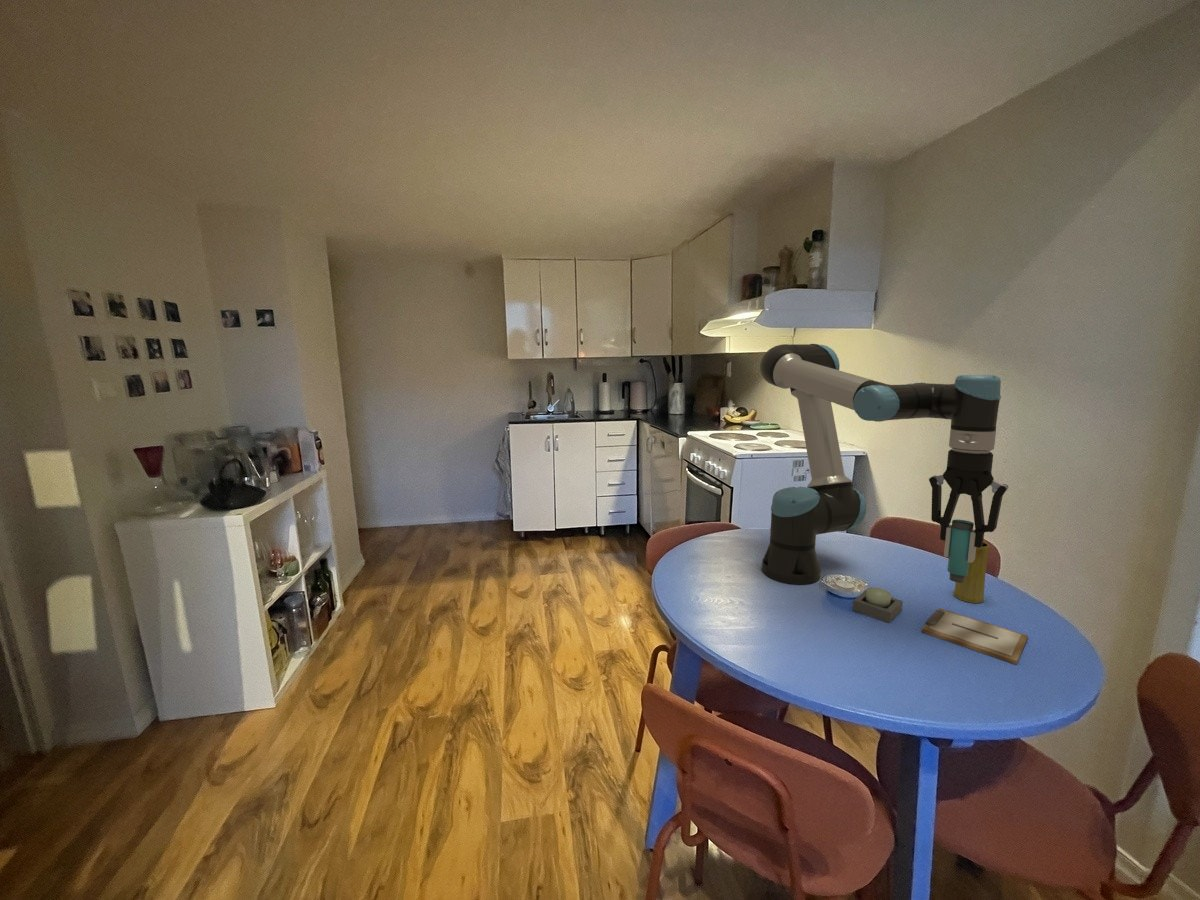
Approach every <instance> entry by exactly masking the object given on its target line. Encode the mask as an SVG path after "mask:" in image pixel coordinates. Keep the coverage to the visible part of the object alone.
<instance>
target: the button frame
mask: <svg viewBox="0 0 1200 900" xmlns="http://www.w3.org/2000/svg"><path fill="white" fill-rule="evenodd" d="M866 593H867V589H865V590H864V591H863V592H862V593H860V594H858V596H856V597H855V599H853V600H852V602H853V603H852V611H854V612H857V613H859V614H863V615H866V616H868V617H871V618H874V619H877V620H880V621H882V622H885V623H889V624H890V623H891V622H892V621H893V620H894V619H895V618H896V617H897V616H898V615H899V614H900V613H901V612H902V611H903V603H904V601H903V600H901V599H898V598H894V597H892V596H891V601H890V606H889V607H888V608H886V609H885V608H882V607H879V606H876V605H873V604H870V603H867V602H866Z"/></svg>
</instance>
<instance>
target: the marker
mask: <svg viewBox="0 0 1200 900" xmlns="http://www.w3.org/2000/svg"><path fill="white" fill-rule="evenodd" d="M951 525H952V531H951V541H950V551H949V557H948V559H947V560H948V562H947V563H948V564H947V570H946V571H947V572H948V573H949V580H950V581H951V582H954V583H956V582H959V583H963V582H964V579H965V575H968V569H969V562H968V553H969V543H970V534H971V532H972V531H973V530H974V527H975V522H972V521H969V520H965V519H951Z"/></svg>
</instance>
